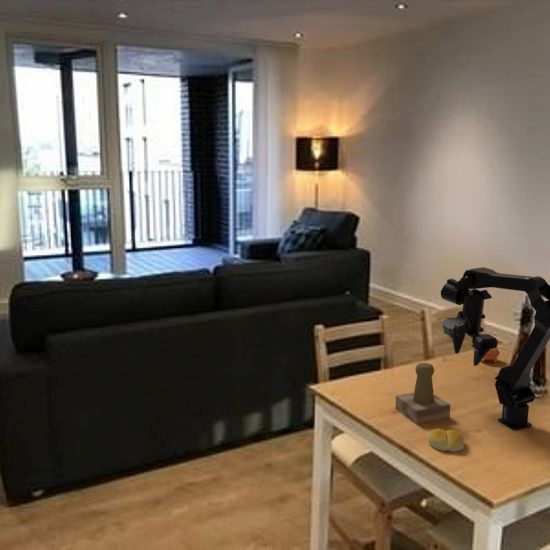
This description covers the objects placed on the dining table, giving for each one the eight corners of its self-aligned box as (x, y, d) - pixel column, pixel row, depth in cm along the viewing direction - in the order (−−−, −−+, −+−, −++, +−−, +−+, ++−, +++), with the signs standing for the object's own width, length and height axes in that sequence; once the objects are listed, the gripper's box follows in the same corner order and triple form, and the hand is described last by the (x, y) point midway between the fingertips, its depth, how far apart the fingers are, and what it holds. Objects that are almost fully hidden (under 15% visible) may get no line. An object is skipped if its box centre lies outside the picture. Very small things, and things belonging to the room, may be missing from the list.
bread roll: (428, 436, 159) (428, 422, 158) (463, 440, 156) (464, 426, 156) (427, 450, 151) (428, 436, 150) (464, 455, 149) (465, 440, 148)
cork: (410, 396, 174) (412, 360, 172) (431, 396, 174) (433, 360, 172) (415, 404, 168) (416, 368, 166) (436, 404, 168) (438, 367, 166)
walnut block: (449, 417, 169) (450, 404, 168) (416, 424, 165) (417, 410, 164) (427, 402, 179) (427, 390, 178) (395, 408, 175) (395, 395, 174)
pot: (485, 365, 209) (483, 346, 209) (473, 363, 217) (471, 344, 217) (505, 362, 211) (503, 343, 211) (492, 360, 218) (490, 342, 219)
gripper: (430, 301, 179) (425, 349, 183) (468, 323, 162) (461, 375, 166) (462, 299, 182) (456, 346, 187) (502, 320, 166) (494, 371, 170)
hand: (465, 359), depth 177 cm, fingers open, 9 cm apart
